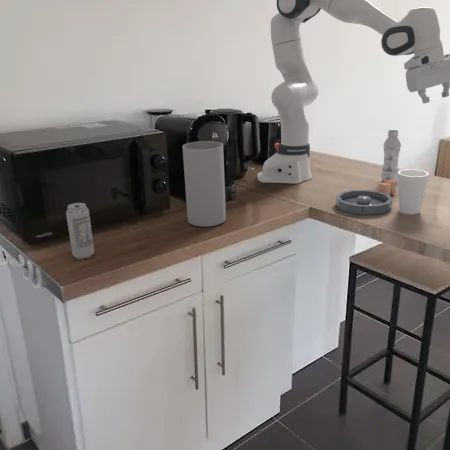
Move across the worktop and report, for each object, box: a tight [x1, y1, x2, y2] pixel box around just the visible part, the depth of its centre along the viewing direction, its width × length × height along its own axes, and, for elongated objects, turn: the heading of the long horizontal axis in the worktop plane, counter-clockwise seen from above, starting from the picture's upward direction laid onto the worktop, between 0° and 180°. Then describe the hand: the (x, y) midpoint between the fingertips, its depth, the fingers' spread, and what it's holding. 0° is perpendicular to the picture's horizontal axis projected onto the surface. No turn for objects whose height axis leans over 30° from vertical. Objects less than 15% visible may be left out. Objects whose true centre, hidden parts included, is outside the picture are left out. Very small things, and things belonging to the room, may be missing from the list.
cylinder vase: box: [182, 140, 227, 228], centre depth 162 cm, size 12×12×25 cm
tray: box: [335, 189, 393, 216], centre depth 174 cm, size 18×18×3 cm
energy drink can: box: [65, 202, 95, 258], centre depth 141 cm, size 6×6×15 cm
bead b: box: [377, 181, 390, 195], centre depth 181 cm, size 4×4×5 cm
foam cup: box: [397, 168, 430, 216], centre depth 166 cm, size 10×9×13 cm
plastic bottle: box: [380, 129, 402, 182], centre depth 196 cm, size 6×7×20 cm
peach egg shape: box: [383, 179, 397, 197], centre depth 185 cm, size 4×4×5 cm
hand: (436, 99), depth 170 cm, fingers open, 8 cm apart
